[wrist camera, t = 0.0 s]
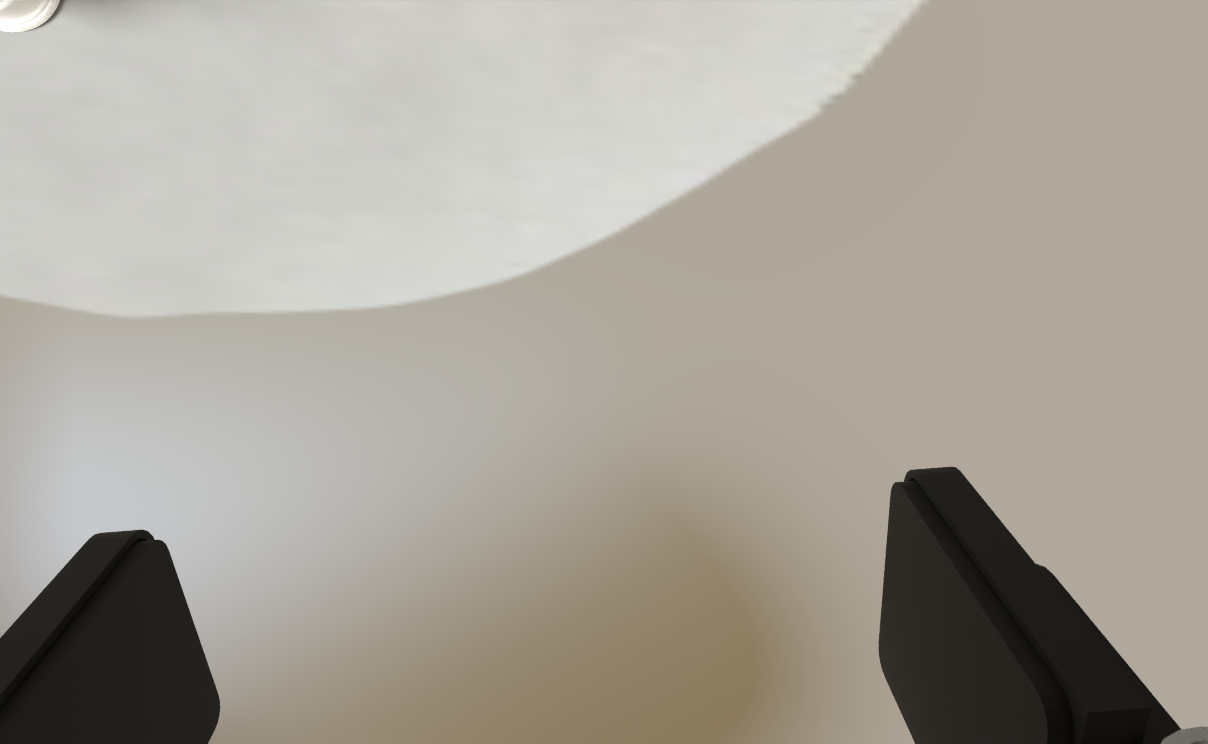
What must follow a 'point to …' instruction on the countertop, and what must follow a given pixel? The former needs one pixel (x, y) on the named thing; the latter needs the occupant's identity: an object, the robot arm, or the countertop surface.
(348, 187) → the countertop surface
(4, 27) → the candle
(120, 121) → the countertop surface
